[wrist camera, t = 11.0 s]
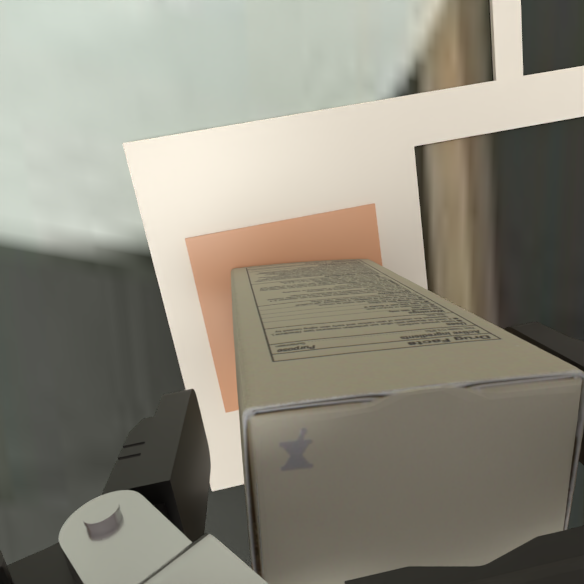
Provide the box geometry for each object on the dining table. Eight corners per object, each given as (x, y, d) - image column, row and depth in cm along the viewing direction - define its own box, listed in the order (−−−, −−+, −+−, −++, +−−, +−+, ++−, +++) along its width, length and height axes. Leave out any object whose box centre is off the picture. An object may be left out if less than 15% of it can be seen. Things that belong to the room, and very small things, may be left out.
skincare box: (236, 362, 20) (237, 632, 8) (229, 265, 19) (217, 409, 7) (378, 349, 20) (574, 582, 9) (379, 255, 19) (603, 372, 8)
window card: (640, -49, 18) (656, -57, 18) (628, 389, 23) (640, 395, 23) (97, 32, 17) (91, 26, 16) (212, 484, 22) (211, 494, 21)
